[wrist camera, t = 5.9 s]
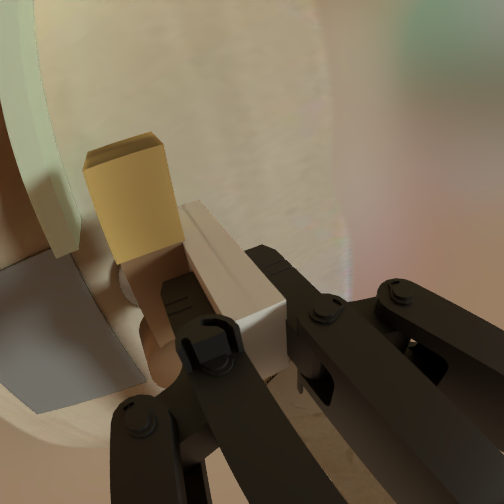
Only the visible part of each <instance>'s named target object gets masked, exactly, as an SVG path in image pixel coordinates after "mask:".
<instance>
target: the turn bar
mask: <svg viewBox="0 0 504 504" xmlns="http://www.w3.org/2000/svg"><path fill="white" fill-rule="evenodd" d="M83 174H84V177H85V181H86V184H87V187H88V190H89V193H90V196H91V199H92V202H93V205H94V207H95V210H96V213H97V216H98V218H99V221H100V224H101V227H102V229H103V232H104V234H105V237H106V239H107V242H108V244H109V247H110V249H111V252H112V254H113V257H114V259H115V261H116V264H117V265H118V264H121V267H122V269H123V271H124V274H125V276H126V278H127V280H128V283H129V285H130V287H131V289H132V291H133V294H134V296H135V298H136V300H137V302H138V304H139V306H140V308H141V310H142V313H143V315H144V317H143V319H142V321H141V323H140V328H139V334H140V338H141V342H142V346H143V350H144V353H145V357H146V360H147V364H148V367H149V370H150V374H151V377H152V379H153V381H154V382H155V383H156V384H157V385H159V386H161V387H163V388H165V389H166V388H168V387H169V386H170V385H171V384H172V383H173V382H174V381H175V380H176V379H177V377H178V376H179V374H180V371H181V368H182V362H181V360H180V358H179V356H178V354H177V352H176V349H175V339H176V338H175V336H174V333H173V330H172V327H171V324H170V322H169V319H168V316H167V313H166V310H165V307H164V304H163V301H162V298H161V295H160V292H161V288H162V284H163V282H164V281H166V280H169V279H172V278H175V277H177V276H180V275H183V274H186V273H188V272H190V269H189V266H188V262H187V258H186V255H185V251H184V247H183V244H182V241H185V237H184V233H183V229H182V225H181V221H180V217H179V213H178V209H177V204H176V200H175V196H174V191H173V187H172V183H171V178H170V173H169V169H168V164H167V159H166V154H165V150H164V145H163V143H162V142H161V141H160V140H159V139H158V138H157V137H156V136H155V135H154V134H153V133H152V132H148V133H145V134H141V135H138V136H134V137H131V138H128V139H125V140H122V141H118V142H115V143H112V144H109V145H106V146H104V147H101V148H98V149H95V150H92V151H89V152H88V153H87V156H86V160H85V163H84V167H83Z"/></svg>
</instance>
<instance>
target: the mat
mask: <svg viewBox="0 0 504 504" xmlns="http://www.w3.org/2000/svg"><path fill="white" fill-rule="evenodd" d="M145 382H147V381H146V379H145V378H144V376H143V375H142V374H141V372H140V371H139V369H138V368H137V367H136V365H135V364H134V362H133V361H132V359H131V358H130V357H129V355H128V354H127V352H126V351H125V349H124V348H123V346H122V345H121V343H120V342H119V340H118V338H117V337H116V335H115V334H114V332H113V331H112V329H111V327H110V326H109V324H108V322H107V321H106V319H105V318H104V316H103V314H102V312H101V311H100V309H99V307H98V306H97V304H96V302H95V300H94V299H93V297H92V295H91V293H90V291H89V290H88V288H87V286H86V284H85V282H84V280H83V278H82V276H81V275H80V273H79V271H78V269H77V267H76V265H75V263H74V261H73V259H72V257H71V254H70V253H69V254H67V255H64V256H62V257H59V258H57V259H56V257H55V255H54V253H53V251H52V249H51V248H50V249H47V250H45V251H43V252H40V253H38V254H36V255H33V256H31V257H29V258H27V259H24V260H22V261H20V262H18V263H15V264H13V265H11V266H9V267H7V268H5V269H3V270H0V383H1V384H2V385H3V386H4V387H5V388H7V389H8V390H9V391H10V392H11V393H12V394H13V395H14V396H16V397H17V398H18V399H19V400H20V401H21V402H23V403H24V404H25V405H26V406H27V407H29V408H30V409H31V410H32V411H34V412H35V413H36V414H41V413H45V412H49V411H53V410H57V409H60V408H64V407H68V406H71V405H75V404H78V403H82V402H85V401H89V400H92V399H95V398H99V397H102V396H105V395H108V394H112V393H115V392H118V391H121V390H124V389H127V388H130V387H133V386H136V385H139V384H142V383H145Z"/></svg>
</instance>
